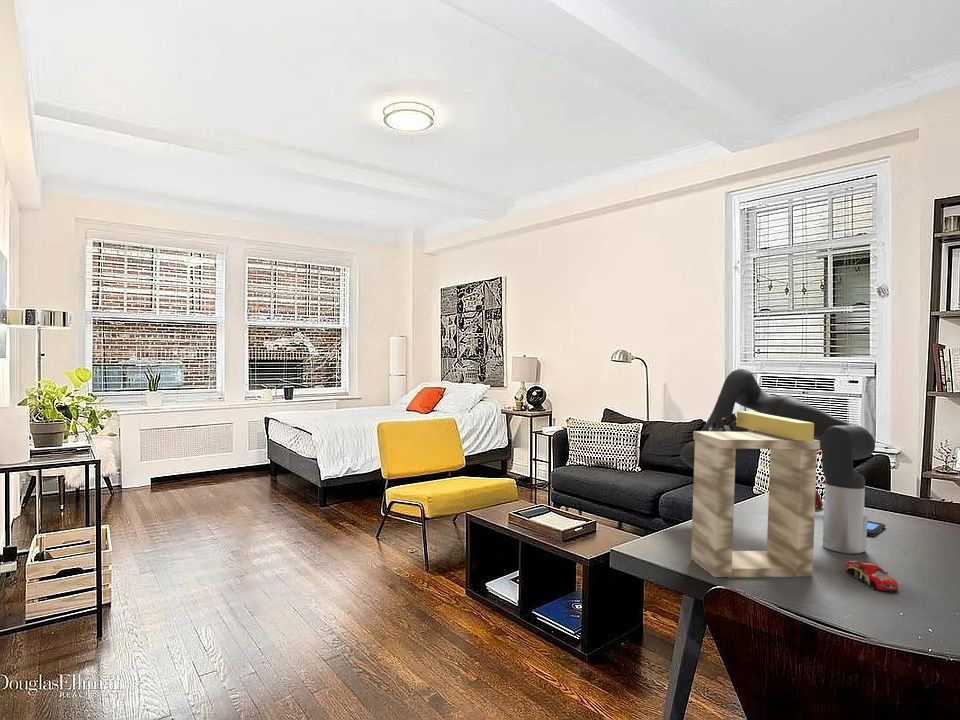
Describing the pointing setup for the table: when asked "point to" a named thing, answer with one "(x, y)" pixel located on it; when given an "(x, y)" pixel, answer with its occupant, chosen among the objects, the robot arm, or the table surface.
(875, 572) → the race car
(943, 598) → the table surface
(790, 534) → the shelf
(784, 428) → the beam
